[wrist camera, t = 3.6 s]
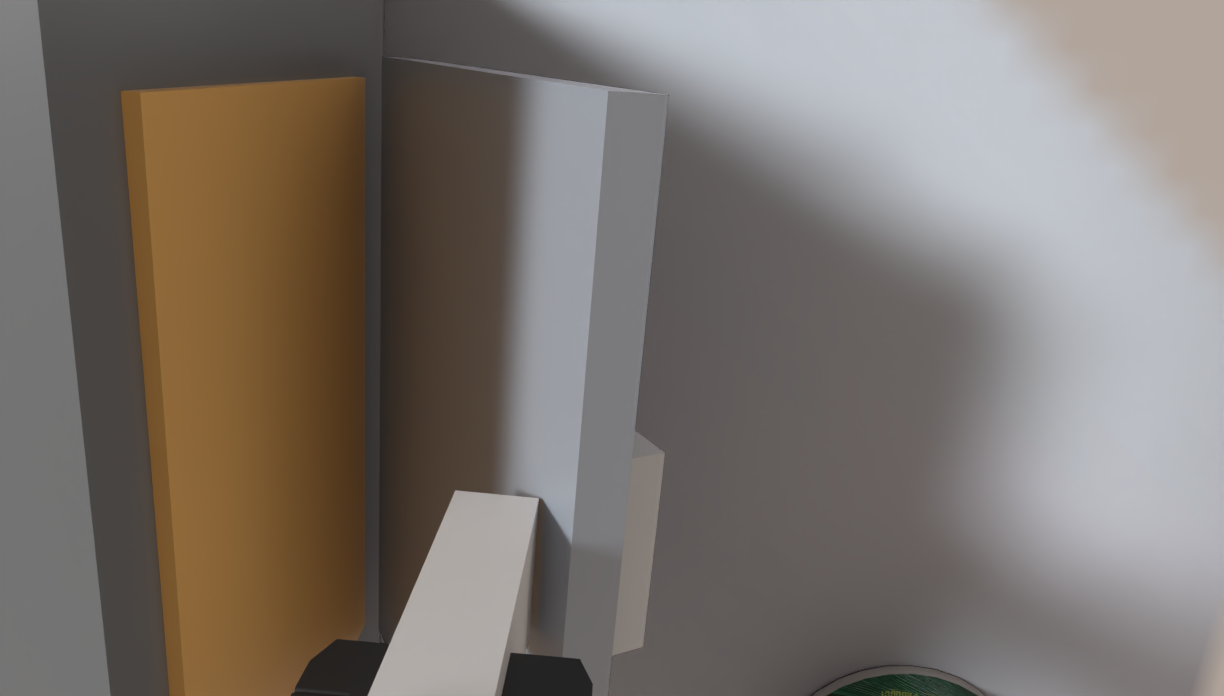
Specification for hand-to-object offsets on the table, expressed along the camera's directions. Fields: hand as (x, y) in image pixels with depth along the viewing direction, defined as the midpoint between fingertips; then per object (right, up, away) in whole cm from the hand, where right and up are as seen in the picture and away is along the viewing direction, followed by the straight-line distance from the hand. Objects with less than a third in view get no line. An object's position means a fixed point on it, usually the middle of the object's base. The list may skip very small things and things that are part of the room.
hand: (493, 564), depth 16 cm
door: (-4, +3, +8) cm, 10 cm away
